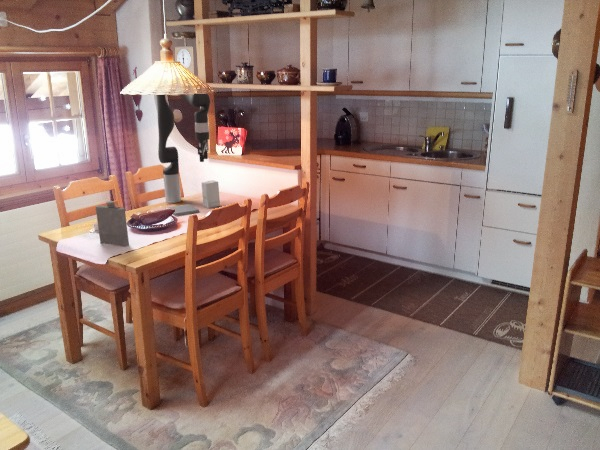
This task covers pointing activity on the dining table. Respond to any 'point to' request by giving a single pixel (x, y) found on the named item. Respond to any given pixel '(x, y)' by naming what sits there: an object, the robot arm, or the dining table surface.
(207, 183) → the skincare box
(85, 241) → the dining table surface
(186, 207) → the slate board
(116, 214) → the hip flask
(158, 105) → the robot arm
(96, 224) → the teacup and saucer
